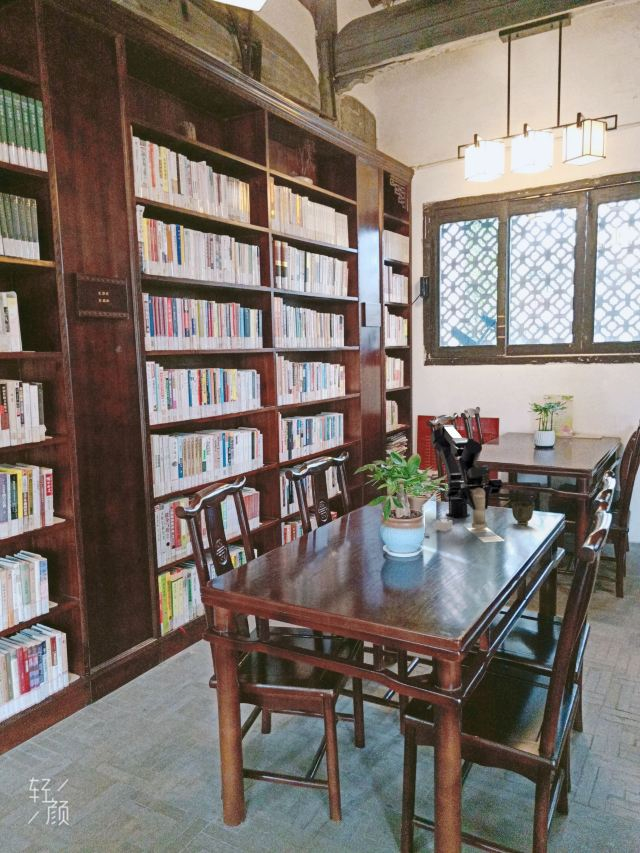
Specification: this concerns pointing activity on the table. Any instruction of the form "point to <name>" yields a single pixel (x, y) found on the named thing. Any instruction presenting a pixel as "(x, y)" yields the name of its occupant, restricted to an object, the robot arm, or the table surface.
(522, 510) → the cup
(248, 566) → the table surface
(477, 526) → the round-topped post
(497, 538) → the board
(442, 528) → the die
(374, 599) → the table surface
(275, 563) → the table surface
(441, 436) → the robot arm
